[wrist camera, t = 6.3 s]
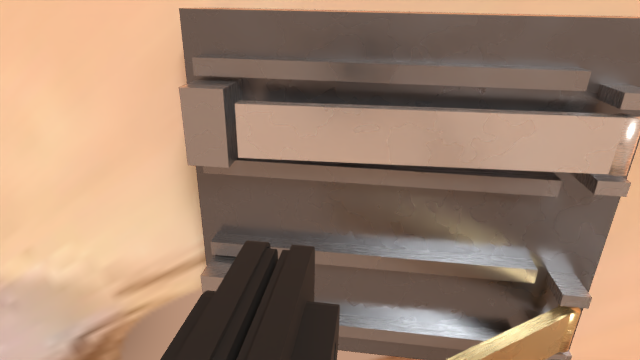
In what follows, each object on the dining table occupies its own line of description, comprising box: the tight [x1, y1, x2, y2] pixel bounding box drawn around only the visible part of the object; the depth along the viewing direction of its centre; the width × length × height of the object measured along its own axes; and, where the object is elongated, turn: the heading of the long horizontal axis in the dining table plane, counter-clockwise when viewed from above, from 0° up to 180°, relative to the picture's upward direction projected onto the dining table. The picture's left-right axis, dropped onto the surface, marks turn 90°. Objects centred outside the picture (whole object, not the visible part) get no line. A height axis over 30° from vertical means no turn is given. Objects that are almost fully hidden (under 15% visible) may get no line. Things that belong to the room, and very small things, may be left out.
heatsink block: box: [179, 8, 640, 360], centre depth 27 cm, size 26×24×7 cm
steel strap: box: [235, 100, 640, 176], centre depth 22 cm, size 21×3×1 cm, turn 89°
